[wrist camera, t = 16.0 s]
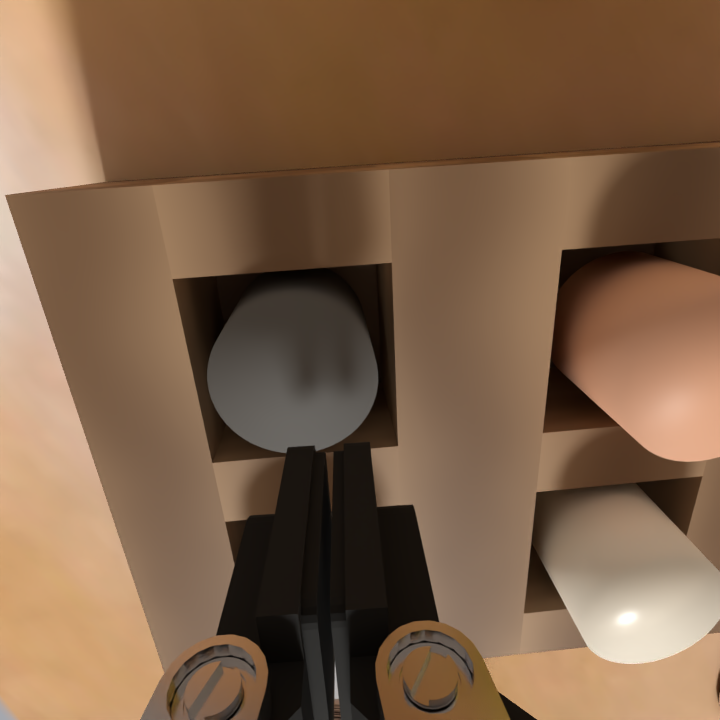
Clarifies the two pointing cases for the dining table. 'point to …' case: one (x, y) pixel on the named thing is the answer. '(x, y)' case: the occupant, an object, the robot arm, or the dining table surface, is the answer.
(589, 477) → the wooden egg tray
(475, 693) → the robot arm
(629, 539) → the cream white egg
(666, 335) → the brown egg
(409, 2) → the dining table surface
